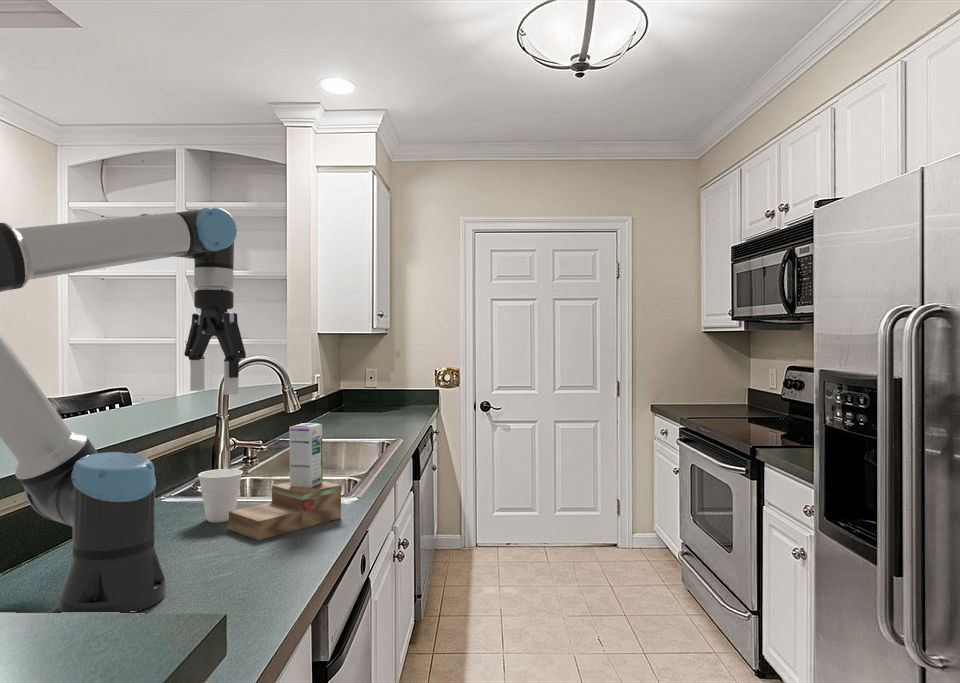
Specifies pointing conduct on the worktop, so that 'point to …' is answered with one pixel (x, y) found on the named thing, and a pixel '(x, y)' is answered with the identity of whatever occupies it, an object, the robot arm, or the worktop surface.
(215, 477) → the cup
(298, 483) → the syrup box
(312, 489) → the step stand
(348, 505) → the worktop surface
